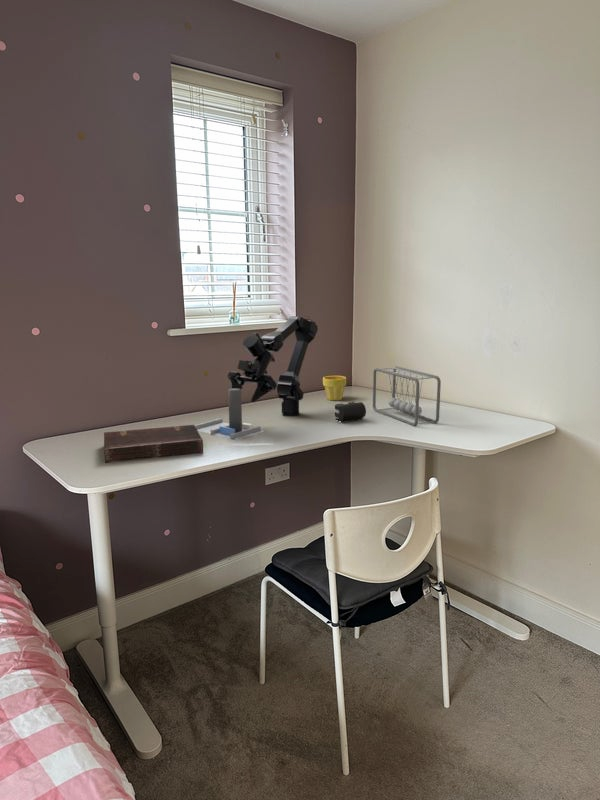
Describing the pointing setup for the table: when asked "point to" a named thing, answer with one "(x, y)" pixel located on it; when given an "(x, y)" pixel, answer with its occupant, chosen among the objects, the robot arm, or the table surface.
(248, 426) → the ear clip
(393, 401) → the newton's cradle
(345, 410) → the black cylinder
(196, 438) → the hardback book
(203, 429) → the board
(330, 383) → the plant pot
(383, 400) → the table surface
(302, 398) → the robot arm
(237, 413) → the grey square pillar
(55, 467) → the table surface
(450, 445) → the table surface
